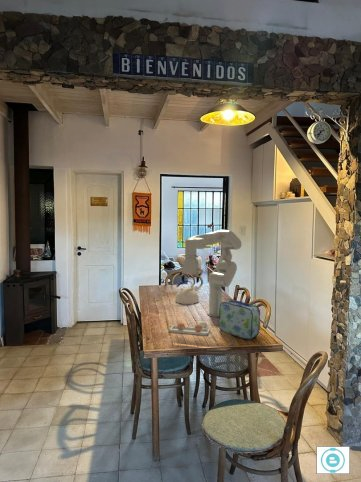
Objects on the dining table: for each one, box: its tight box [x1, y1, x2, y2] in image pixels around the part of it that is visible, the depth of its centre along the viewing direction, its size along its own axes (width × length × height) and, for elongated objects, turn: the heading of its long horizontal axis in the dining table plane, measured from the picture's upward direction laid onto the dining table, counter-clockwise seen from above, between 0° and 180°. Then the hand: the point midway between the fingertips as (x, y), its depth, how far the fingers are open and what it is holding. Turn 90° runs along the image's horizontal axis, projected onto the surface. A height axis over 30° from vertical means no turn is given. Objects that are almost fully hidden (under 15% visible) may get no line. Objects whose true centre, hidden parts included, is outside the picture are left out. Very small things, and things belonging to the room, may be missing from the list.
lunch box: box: [218, 298, 261, 340], centre depth 205 cm, size 26×11×21 cm, turn 45°
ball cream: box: [199, 320, 208, 329], centre depth 214 cm, size 5×5×5 cm
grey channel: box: [168, 325, 211, 337], centre depth 208 cm, size 8×24×2 cm, turn 76°
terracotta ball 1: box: [176, 322, 186, 330], centre depth 209 cm, size 5×5×5 cm
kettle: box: [174, 280, 200, 305], centre depth 285 cm, size 20×21×18 cm
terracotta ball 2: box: [194, 323, 202, 332], centre depth 207 cm, size 5×5×5 cm
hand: (190, 282), depth 225 cm, fingers open, 9 cm apart
